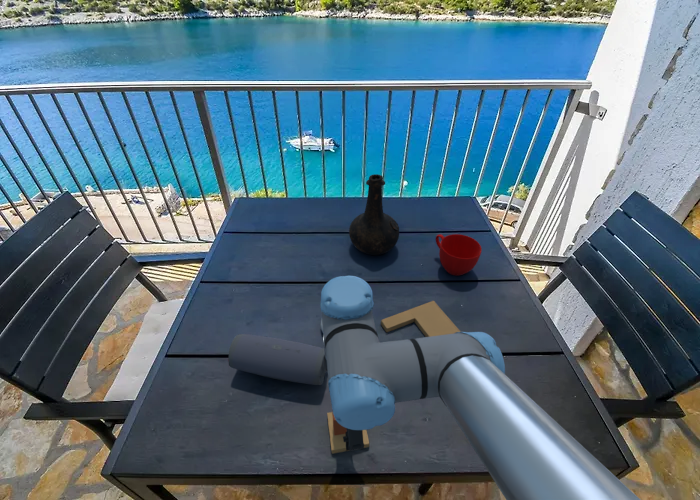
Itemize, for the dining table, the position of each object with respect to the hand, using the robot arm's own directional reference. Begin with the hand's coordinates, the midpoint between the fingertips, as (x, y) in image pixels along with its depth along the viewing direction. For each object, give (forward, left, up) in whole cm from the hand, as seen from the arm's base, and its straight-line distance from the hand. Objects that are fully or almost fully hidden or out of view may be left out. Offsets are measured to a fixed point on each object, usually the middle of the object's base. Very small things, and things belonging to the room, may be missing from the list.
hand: (347, 412), depth 72 cm
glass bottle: (+63, -20, -8) cm, 67 cm away
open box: (0, 0, -8) cm, 8 cm away
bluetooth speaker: (+17, +14, -8) cm, 24 cm away
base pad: (+22, -25, -8) cm, 34 cm away
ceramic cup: (+48, -44, -8) cm, 66 cm away
